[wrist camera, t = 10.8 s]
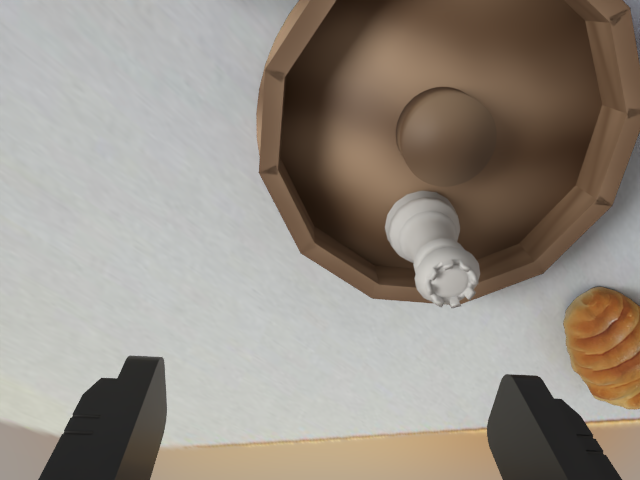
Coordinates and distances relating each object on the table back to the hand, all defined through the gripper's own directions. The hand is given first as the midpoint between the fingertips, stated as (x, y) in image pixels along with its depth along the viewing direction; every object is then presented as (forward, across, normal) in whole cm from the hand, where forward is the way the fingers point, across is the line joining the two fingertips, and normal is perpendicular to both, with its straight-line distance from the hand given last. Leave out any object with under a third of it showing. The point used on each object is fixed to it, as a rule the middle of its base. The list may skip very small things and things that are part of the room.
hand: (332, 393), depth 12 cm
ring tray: (+21, -7, -2) cm, 22 cm away
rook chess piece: (+20, -7, +4) cm, 21 cm away
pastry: (+21, -23, +13) cm, 33 cm away
